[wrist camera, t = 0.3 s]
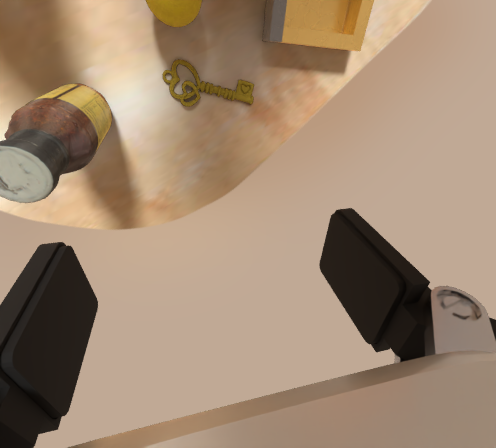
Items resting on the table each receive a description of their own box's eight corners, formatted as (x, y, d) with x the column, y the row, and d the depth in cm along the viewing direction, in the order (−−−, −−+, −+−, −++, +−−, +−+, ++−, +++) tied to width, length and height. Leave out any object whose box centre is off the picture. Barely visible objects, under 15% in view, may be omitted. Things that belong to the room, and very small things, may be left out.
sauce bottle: (59, 129, 33) (-49, 212, 17) (53, 74, 30) (-84, 113, 14) (116, 140, 35) (69, 223, 19) (117, 90, 32) (62, 139, 16)
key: (258, 83, 34) (248, 122, 37) (256, 82, 35) (246, 120, 38) (164, 54, 30) (159, 99, 33) (164, 54, 31) (160, 98, 34)
